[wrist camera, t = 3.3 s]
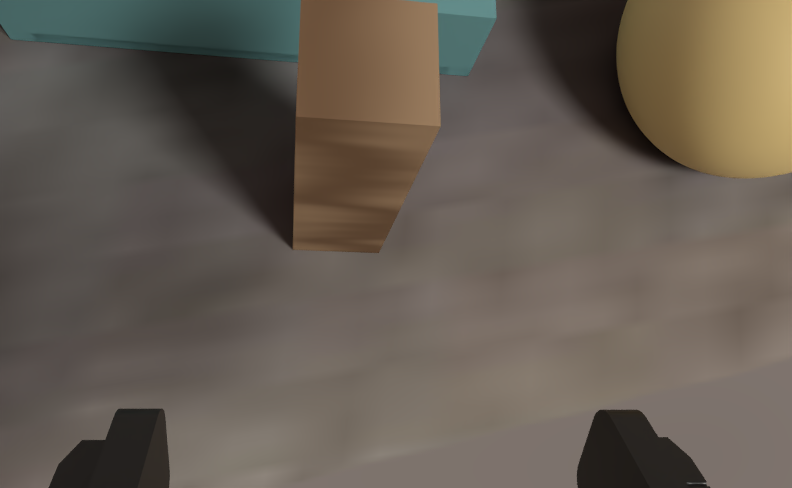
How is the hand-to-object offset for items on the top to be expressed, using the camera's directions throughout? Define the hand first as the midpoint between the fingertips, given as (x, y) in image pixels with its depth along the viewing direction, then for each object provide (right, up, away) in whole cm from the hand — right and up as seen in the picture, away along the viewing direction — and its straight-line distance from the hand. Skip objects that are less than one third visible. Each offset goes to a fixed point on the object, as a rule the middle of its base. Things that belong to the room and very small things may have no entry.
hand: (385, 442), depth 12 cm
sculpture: (+15, +11, +21) cm, 28 cm away
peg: (-2, +5, +16) cm, 17 cm away
